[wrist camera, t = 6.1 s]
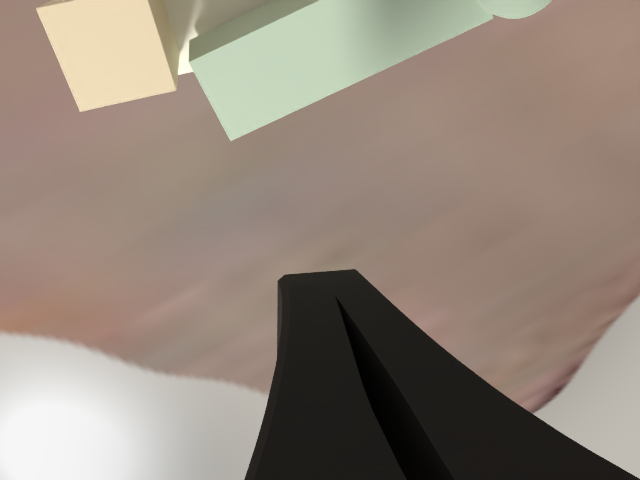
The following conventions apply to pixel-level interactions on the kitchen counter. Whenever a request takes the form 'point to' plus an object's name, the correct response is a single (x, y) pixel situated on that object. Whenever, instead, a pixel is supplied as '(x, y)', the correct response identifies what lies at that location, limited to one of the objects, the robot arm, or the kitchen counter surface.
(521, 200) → the kitchen counter surface
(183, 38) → the stool seat
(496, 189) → the kitchen counter surface
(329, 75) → the hinged leg
